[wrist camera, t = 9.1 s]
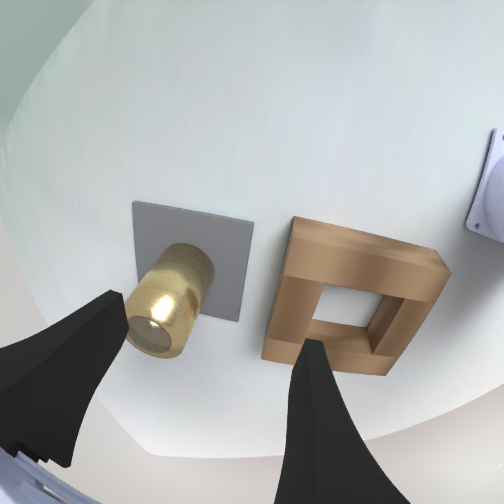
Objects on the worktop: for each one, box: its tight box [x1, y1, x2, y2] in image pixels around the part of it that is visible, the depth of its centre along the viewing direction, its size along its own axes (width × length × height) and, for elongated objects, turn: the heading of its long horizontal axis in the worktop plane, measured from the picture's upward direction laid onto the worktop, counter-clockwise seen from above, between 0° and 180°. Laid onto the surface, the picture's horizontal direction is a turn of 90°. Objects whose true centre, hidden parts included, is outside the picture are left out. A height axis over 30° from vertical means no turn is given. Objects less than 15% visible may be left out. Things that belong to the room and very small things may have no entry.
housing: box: [261, 216, 451, 376], centre depth 19 cm, size 11×11×3 cm
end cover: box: [124, 243, 215, 359], centre depth 18 cm, size 4×4×7 cm
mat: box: [132, 201, 254, 322], centre depth 21 cm, size 9×9×1 cm
